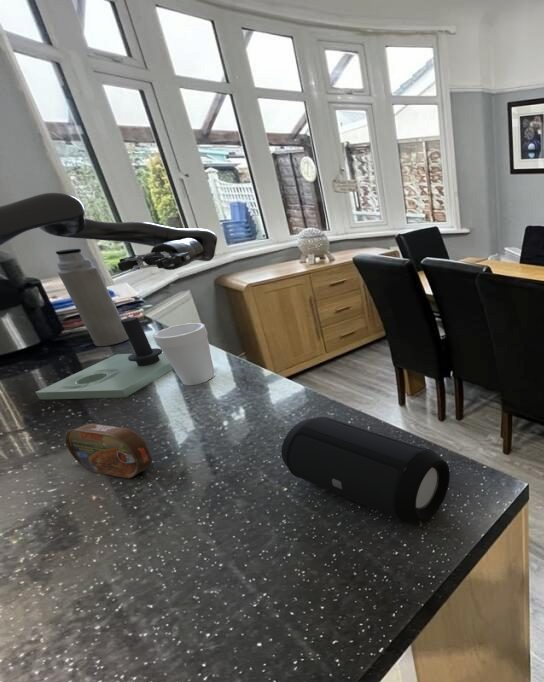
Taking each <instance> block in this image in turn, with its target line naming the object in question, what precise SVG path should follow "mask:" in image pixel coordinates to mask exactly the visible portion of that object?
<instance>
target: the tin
mask: <svg viewBox="0 0 544 682" xmlns="http://www.w3.org/2000/svg"><path fill="white" fill-rule="evenodd" d="M65 444H66V447H67V450H68V451H69V453H70V455H71V456H72V458H74V459H75V461H76V462H77V463H78V464H79V465H81V467H83V468H84V469H86V470H88V471H90V472H92V473H95V474H101V475H107V476H113V477H117V478H122V479H132V478H134V477H136V476H137V475H138V474H140V473H142V472H144V471H145V470H147V469H148V468H149V467H150V466H151V465H152V461H153V459H152V456H151V453H150V450H149V448H148V446H147V443H146V441H145V440H144V439H143V438H142V436H140V435H139V434H138V433H137V432H136V431H134V430H132V429H130V428H128V427H123V426H114V425H107V424H99V423H86V424H83V425H81V426H79V427H77V428H74V429H70V430H69V431H67V433H66V434H65Z"/></svg>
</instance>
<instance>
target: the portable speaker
mask: <svg viewBox="0 0 544 682" xmlns="http://www.w3.org/2000/svg"><path fill="white" fill-rule="evenodd" d="M280 451H281V459H282V461H283V463H284V465H285V466H286V468H287V469H288V471H289V472H290V474H292V475H293V476H294V477H296V478H298V479H302V480H304V481H306V482H309V483H311V484H313V485H316V486H319V487H321V488H323V489H326V490H328V491H330V492H333V493H335V494H337V495H339V496H342V497H345V498H347V499H349V500H351V501H353V502H357V503H359V504H361V505H362V506H363V505H364V506H366V507H368V508H371V509H373V510H375V511H377V512H380V513H383V514H385V515H387V516H390V517H392V518H394V519H396V520H399V521H400V522H402V523H415V522H417V523H418V522H420V523H421V522H425V521H428V520H430V519H431V518H432V517H434V516H435V514H436V513H437V512H438V511H439V509H440V507H441V506H442V504H443V502H444V500H445V498H446V496H447V493H448V490H449V489H448V488H449V485H450V480H451V478H450V477H451V473H450V472H451V471H450V467H449V465H448V463H447V462H446V460H445V459H443V458H442V457H441V456H440V455H439V454H438V453H436V452H435V451H434V450H432V449H430V448H427V447H424V446H421V445H418V444H413V443H411V442H408V441H405V440H401V439H398V438H395V437H393V436H389V435H386V434H383V433H380V432H378V431H377V432H376V431H373V430H371V429H367V428H363V427H361V426H359V425H358V426H357V425H354V424H351V423H348V422H345V421H342V420H339V419H336V418H332V417H327V416H317V417H311V418H306V419H303V420H301V421H298V423H296V424H295V425H294V426H293V427H292V428H290V429H289V431H288V433H287V434H286V436H285V437H284V440H283V441H282V445H281V450H280Z"/></svg>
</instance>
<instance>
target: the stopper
mask: <svg viewBox="0 0 544 682" xmlns="http://www.w3.org/2000/svg"><path fill="white" fill-rule="evenodd" d="M140 321H141V320H140V319H139V317H138V316H132V317H127V318H123V319H122V320H121V323H122V325H123V327H124V329H125V332H126V334H127V336H128V338H129V339H128V340H129V342H130V344H131V347H132V348H133V351H134V353H131V354H132V355H130V356H129V357H128V359H129V361H136V363H137V365H138V366H147V365H151V364H154V363H156V362H158V361H159V360H160V359H159V357H158V355H160V354H161V353H163V351H162V350H161V348H160V347H158V348H156V347H153V348H152V346H151V344H150V341H149V340H148V337H147V334H146V332H145V331H144V328H143V325H142V323H141V322H140Z"/></svg>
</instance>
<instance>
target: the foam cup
mask: <svg viewBox="0 0 544 682" xmlns="http://www.w3.org/2000/svg"><path fill="white" fill-rule="evenodd" d="M152 337H153V339H154V341H155V345H157V347H158V348H159V349H161V350H162V353H164V355H165V356H166V358H167V359H168V361H169V362H170V364H171V365H172V367H173V371H175V373H176V375H177V376H178V378H179V380H180V381H181V383H182V384H183V385H184V386H196V385H197V386H198V385H200V384H204V383H206V382H208V380H209V379H211V378H212V377H213V378H215V376H214V374H215V368H214V363H213V359H212V354H211V348H210V343H209V337H208V330H207V328H206V325H205V324H204V323H202V322H188V323H181V324H177V325H176V324H175V325H172V326H169V327H166V328H163V329H160V330H158V331H156V332H155V333H154V334H153V335H152ZM213 378H212V379H213ZM212 379H211V380H212ZM209 381H210V380H209Z"/></svg>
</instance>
